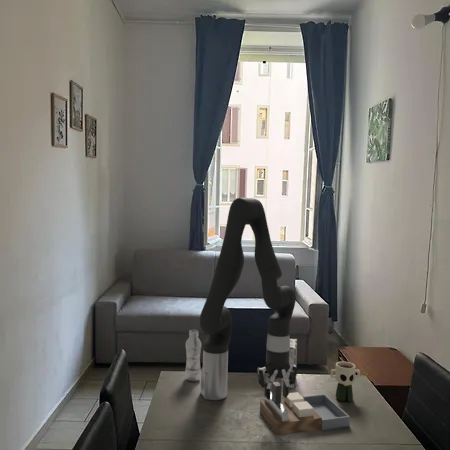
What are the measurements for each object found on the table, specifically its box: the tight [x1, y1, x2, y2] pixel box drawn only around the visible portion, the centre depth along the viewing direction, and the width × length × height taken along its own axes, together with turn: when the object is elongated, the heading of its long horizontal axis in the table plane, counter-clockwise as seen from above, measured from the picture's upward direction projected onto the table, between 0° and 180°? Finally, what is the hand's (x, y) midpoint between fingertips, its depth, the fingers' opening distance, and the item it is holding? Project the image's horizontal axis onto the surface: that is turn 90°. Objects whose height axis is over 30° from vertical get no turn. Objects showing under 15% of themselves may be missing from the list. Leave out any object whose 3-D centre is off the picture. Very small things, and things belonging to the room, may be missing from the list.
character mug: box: [330, 361, 361, 402], centre depth 168 cm, size 11×7×13 cm, turn 91°
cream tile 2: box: [293, 401, 314, 417], centre depth 149 cm, size 5×5×2 cm
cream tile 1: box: [283, 391, 304, 407], centre depth 155 cm, size 5×5×2 cm
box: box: [302, 393, 351, 432], centre depth 155 cm, size 10×17×4 cm, turn 16°
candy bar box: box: [282, 338, 298, 390], centre depth 181 cm, size 11×5×16 cm, turn 168°
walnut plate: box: [259, 397, 322, 436], centre depth 151 cm, size 15×16×4 cm
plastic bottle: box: [184, 329, 202, 382], centre depth 181 cm, size 6×7×20 cm
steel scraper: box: [264, 381, 288, 422], centre depth 150 cm, size 2×15×9 cm, turn 16°
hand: (276, 397), depth 150 cm, fingers open, 5 cm apart
